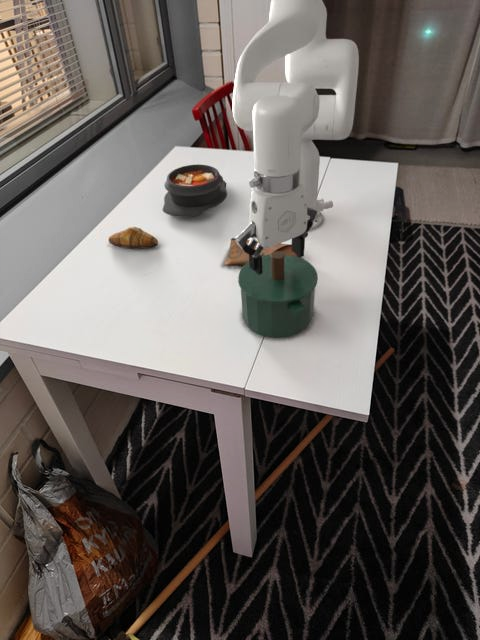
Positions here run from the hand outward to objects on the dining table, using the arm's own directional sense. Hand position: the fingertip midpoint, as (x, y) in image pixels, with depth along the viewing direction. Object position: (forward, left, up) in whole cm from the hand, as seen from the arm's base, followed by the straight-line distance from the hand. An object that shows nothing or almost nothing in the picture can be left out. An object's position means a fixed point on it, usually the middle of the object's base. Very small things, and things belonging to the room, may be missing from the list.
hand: (277, 262), depth 89 cm
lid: (0, 0, -4) cm, 4 cm away
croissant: (+22, -41, -14) cm, 48 cm away
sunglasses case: (-5, -19, -14) cm, 24 cm away
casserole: (0, -56, -14) cm, 58 cm away
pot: (0, 0, -13) cm, 13 cm away
